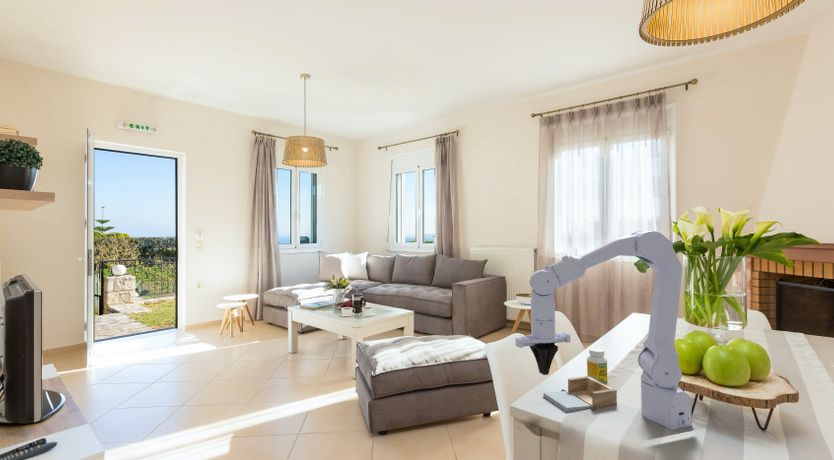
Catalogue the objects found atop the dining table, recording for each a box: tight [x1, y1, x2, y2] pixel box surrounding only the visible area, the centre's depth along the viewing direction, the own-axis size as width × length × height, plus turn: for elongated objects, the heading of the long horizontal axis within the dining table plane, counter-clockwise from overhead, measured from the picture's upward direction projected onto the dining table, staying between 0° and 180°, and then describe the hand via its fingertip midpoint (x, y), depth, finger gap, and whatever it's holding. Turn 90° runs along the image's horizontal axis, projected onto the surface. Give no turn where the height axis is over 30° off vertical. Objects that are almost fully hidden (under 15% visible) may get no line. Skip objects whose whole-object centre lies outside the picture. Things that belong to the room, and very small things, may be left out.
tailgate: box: [542, 390, 591, 413], centre depth 97 cm, size 9×1×7 cm
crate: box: [561, 375, 618, 411], centre depth 99 cm, size 12×8×4 cm
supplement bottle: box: [586, 347, 608, 384], centre depth 112 cm, size 5×5×10 cm
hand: (543, 373), depth 96 cm, fingers closed
